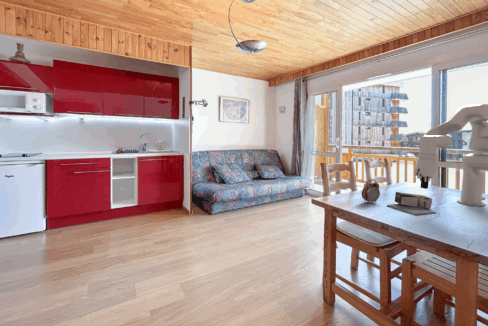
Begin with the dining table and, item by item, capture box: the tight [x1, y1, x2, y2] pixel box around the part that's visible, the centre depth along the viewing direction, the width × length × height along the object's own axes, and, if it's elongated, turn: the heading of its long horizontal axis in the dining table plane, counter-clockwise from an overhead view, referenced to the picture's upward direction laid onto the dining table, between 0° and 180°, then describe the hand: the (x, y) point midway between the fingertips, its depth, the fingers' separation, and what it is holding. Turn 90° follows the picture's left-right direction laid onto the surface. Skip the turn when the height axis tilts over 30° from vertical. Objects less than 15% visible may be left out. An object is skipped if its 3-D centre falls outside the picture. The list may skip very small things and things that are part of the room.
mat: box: [386, 203, 436, 216], centre depth 135 cm, size 14×18×1 cm
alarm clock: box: [361, 179, 381, 203], centre depth 148 cm, size 11×5×15 cm, turn 105°
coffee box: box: [394, 191, 434, 210], centre depth 141 cm, size 9×6×16 cm
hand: (424, 188), depth 136 cm, fingers closed
